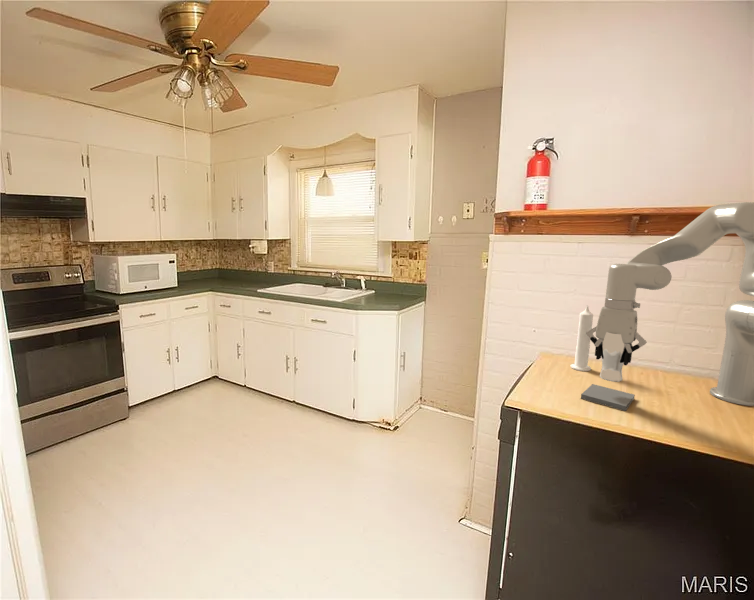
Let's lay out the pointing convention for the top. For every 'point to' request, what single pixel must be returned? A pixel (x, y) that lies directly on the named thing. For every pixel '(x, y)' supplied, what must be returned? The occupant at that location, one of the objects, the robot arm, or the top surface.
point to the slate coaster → (608, 397)
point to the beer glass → (612, 357)
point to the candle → (583, 341)
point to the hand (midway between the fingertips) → (612, 360)
